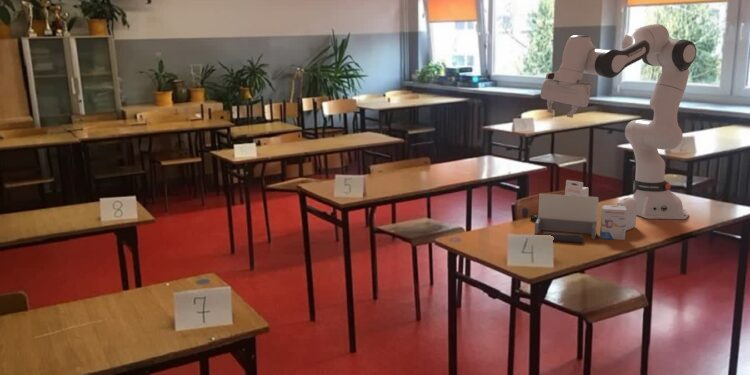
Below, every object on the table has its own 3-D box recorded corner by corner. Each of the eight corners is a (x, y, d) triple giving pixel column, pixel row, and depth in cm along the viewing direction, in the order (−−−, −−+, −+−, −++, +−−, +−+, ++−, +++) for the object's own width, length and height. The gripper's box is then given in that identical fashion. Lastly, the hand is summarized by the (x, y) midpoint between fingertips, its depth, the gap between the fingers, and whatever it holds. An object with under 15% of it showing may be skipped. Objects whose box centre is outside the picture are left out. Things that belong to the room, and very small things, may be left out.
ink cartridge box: (588, 214, 269) (589, 180, 266) (582, 216, 266) (583, 182, 262) (570, 210, 275) (571, 177, 272) (563, 213, 272) (565, 179, 269)
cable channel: (596, 233, 243) (596, 222, 242) (594, 239, 236) (595, 227, 235) (537, 228, 252) (538, 217, 251) (534, 234, 245) (535, 223, 244)
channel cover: (596, 222, 242) (597, 221, 243) (598, 197, 242) (598, 197, 242) (538, 217, 251) (538, 217, 251) (539, 193, 250) (539, 193, 251)
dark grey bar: (584, 242, 234) (584, 234, 234) (583, 244, 232) (583, 236, 231) (542, 238, 240) (542, 230, 240) (541, 240, 238) (541, 233, 237)
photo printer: (623, 232, 243) (624, 201, 240) (612, 230, 246) (614, 199, 243) (637, 227, 249) (639, 196, 246) (627, 225, 252) (628, 194, 250)
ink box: (600, 239, 237) (602, 208, 234) (599, 235, 241) (601, 204, 239) (625, 240, 234) (627, 209, 232) (623, 236, 239) (625, 205, 236)
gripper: (597, 83, 229) (587, 121, 232) (553, 76, 245) (544, 111, 248) (587, 80, 226) (576, 119, 228) (542, 73, 242) (533, 109, 244)
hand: (559, 115), depth 238 cm, fingers open, 8 cm apart
